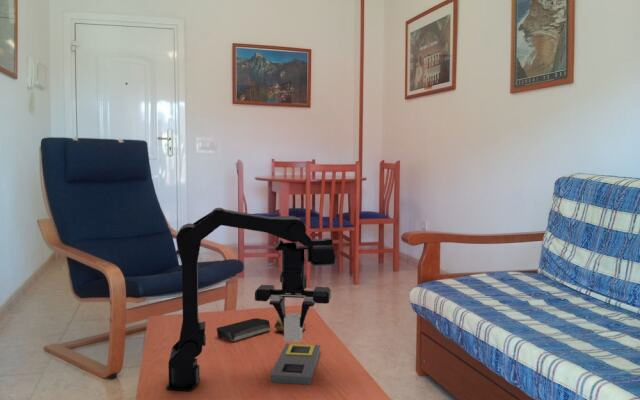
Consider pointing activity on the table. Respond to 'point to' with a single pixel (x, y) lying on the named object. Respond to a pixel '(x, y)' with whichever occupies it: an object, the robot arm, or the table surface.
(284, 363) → the grey board with holes
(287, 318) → the grey metal block
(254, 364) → the table surface
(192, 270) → the robot arm
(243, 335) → the black sponge
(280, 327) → the stone
